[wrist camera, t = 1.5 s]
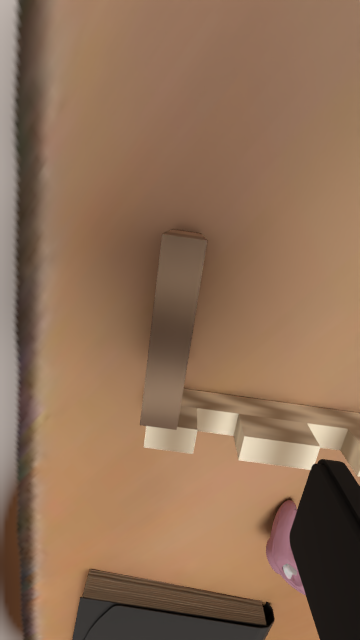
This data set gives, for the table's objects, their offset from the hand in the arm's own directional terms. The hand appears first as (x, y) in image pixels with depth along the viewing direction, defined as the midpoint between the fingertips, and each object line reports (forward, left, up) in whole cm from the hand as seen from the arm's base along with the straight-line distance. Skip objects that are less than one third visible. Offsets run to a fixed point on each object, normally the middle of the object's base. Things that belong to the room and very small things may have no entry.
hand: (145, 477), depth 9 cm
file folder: (+53, +4, -21) cm, 57 cm away
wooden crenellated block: (+10, +10, -20) cm, 24 cm away
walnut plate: (0, 0, -20) cm, 20 cm away
